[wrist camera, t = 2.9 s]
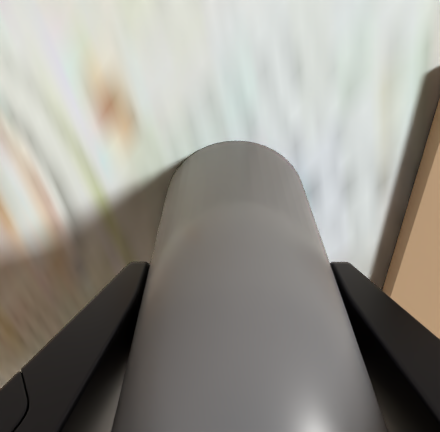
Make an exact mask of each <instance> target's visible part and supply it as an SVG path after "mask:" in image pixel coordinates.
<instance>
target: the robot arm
mask: <svg viewBox="0 0 440 432" xmlns="http://www.w3.org/2000/svg"><path fill="white" fill-rule="evenodd" d="M330 265H331V268H332V271H333V274H334V277H335V280H336V283H337V285H338V288H339V291H340V294H341V297H342V300H343V303H344V306H345V308H346V311H347V314H348V317H349V320H350V323H351V326H352V329H353V331H354V334H355V337H356V340H357V343H358V346H359V349H360V352H361V354H362V357H363V360H364V363H365V366H366V369H367V372H368V375H369V377H370V380H371V383H372V386H373V389H374V392H375V395H376V398H377V400H378V403H379V406H380V409H381V412H382V415H383V418H384V421H385V423H386V426H387V429H388V432H440V339H439V338H438V337H437V336H435V335H434V334H433V333H432V332H431V331H429V330H428V329H427V328H426V327H425V326H424V325H422V324H421V323H420V322H419V321H418V320H416V319H415V318H414V317H413V316H412V315H411V314H409V313H408V312H407V311H406V310H405V309H403V308H402V307H401V306H400V305H399V304H398V303H396V302H395V301H394V300H393V299H392V298H390V297H389V296H388V295H387V294H386V293H385V292H383V291H382V290H381V289H380V288H379V287H377V286H376V285H375V284H374V283H373V282H372V281H370V280H369V279H368V278H367V277H366V276H364V275H363V274H362V273H361V272H360V271H359V270H357V269H356V268H355V267H354V266H353V265H351V264H350V263H348V262H331V263H330ZM149 267H150V265H149V263H148V262H131V263H129V264H128V265H127V266H126V267H125V268H124V269H123V270H122V271H121V272H120V273H119V274H118V275H117V276H116V277H115V278H114V279H113V280H112V281H111V282H110V283H109V284H108V285H107V286H105V287H104V288H103V289H102V290H101V291H100V292H99V293H98V294H97V295H96V296H95V297H94V298H93V299H92V300H91V301H90V302H89V303H88V304H87V305H86V306H85V307H84V308H83V309H82V310H81V311H80V312H79V313H78V314H77V315H76V316H75V317H74V318H73V319H72V320H71V321H70V322H69V323H68V324H67V325H66V326H65V327H64V328H63V329H62V330H61V331H60V332H59V333H58V334H57V335H55V336H54V337H53V338H52V339H51V340H50V341H49V342H48V343H47V344H46V345H45V346H44V347H43V348H42V349H41V350H40V351H39V352H38V353H37V354H36V355H35V356H34V357H33V358H32V359H31V360H30V361H29V362H28V363H27V364H26V365H25V366H24V367H23V368H22V369H21V372H22V373H21V372H18V373H16V374H15V375H14V376H13V377H12V378H11V379H10V380H9V381H8V382H7V383H6V384H5V385H4V386H3V387H2V388H1V389H0V432H111V430H112V426H113V421H114V417H115V413H116V409H117V404H118V400H119V396H120V391H121V387H122V383H123V379H124V374H125V370H126V366H127V361H128V357H129V353H130V349H131V344H132V340H133V336H134V331H135V327H136V323H137V319H138V314H139V310H140V306H141V301H142V297H143V293H144V289H145V284H146V280H147V276H148V271H149Z"/></svg>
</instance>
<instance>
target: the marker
mask: <svg viewBox="0 0 440 432" xmlns="http://www.w3.org/2000/svg"><path fill="white" fill-rule="evenodd" d="M111 432H388V429H387V426H386V423H385V421H384V418H383V415H382V412H381V409H380V406H379V403H378V400H377V398H376V395H375V392H374V389H373V386H372V383H371V380H370V377H369V375H368V372H367V369H366V366H365V363H364V360H363V357H362V354H361V352H360V349H359V346H358V343H357V340H356V337H355V334H354V331H353V329H352V326H351V323H350V320H349V317H348V314H347V311H346V308H345V306H344V303H343V300H342V297H341V294H340V291H339V288H338V285H337V283H336V280H335V277H334V274H333V271H332V268H331V265H330V262H329V260H328V257H327V254H326V251H325V248H324V245H323V242H322V239H321V237H320V234H319V231H318V228H317V225H316V222H315V219H314V216H313V214H312V211H311V208H310V205H309V202H308V199H307V196H306V193H305V191H304V188H303V185H302V182H301V180H300V177H299V175H298V173H297V172H296V170H295V169H294V167H293V166H292V165H291V164H290V163H289V161H288V160H286V159H285V158H284V157H283V156H282V155H280V154H279V153H277V152H276V151H274V150H272V149H270V148H268V147H266V146H263V145H260V144H257V143H252V142H247V141H226V142H221V143H216V144H213V145H210V146H207V147H205V148H203V149H201V150H199V151H197V152H195V153H194V154H192V155H191V156H190V157H188V158H187V159H186V160H185V161H184V162H183V163H182V164H181V165H180V166H179V167H178V169H177V170H176V172H175V173H174V175H173V177H172V179H171V181H170V183H169V187H168V190H167V194H166V199H165V203H164V207H163V212H162V216H161V220H160V224H159V229H158V233H157V237H156V242H155V246H154V250H153V254H152V259H151V263H150V267H149V271H148V276H147V280H146V284H145V289H144V293H143V297H142V301H141V306H140V310H139V314H138V319H137V323H136V327H135V331H134V336H133V340H132V344H131V349H130V353H129V357H128V361H127V366H126V370H125V374H124V379H123V383H122V387H121V391H120V396H119V400H118V404H117V409H116V413H115V417H114V421H113V426H112V430H111Z"/></svg>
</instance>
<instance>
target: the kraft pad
mask: <svg viewBox="0 0 440 432" xmlns="http://www.w3.org/2000/svg"><path fill="white" fill-rule="evenodd" d="M382 291H383V292H385V293H386V294H387V295H388V296H389V297H390V298H392V299H393V300H394V301H395V302H396V303H398V304H399V305H400V306H401V307H402V308H403V309H405V310H406V311H407V312H408V313H409V314H411V315H412V316H413V317H414V318H415V319H416V320H418V321H419V322H420V323H421V324H422V325H424V326H425V327H426V328H427V329H428V330H429V331H431V332H432V333H433V334H434V335H435V336H437V337H438V338H439V339H440V98H439V102H438V105H437V109H436V112H435V115H434V119H433V122H432V125H431V129H430V132H429V135H428V139H427V142H426V145H425V149H424V152H423V155H422V159H421V162H420V166H419V169H418V172H417V176H416V179H415V182H414V186H413V189H412V192H411V196H410V199H409V202H408V206H407V209H406V212H405V216H404V219H403V223H402V226H401V229H400V233H399V236H398V239H397V243H396V246H395V249H394V253H393V256H392V259H391V263H390V266H389V269H388V273H387V276H386V280H385V283H384V286H383V290H382Z"/></svg>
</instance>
